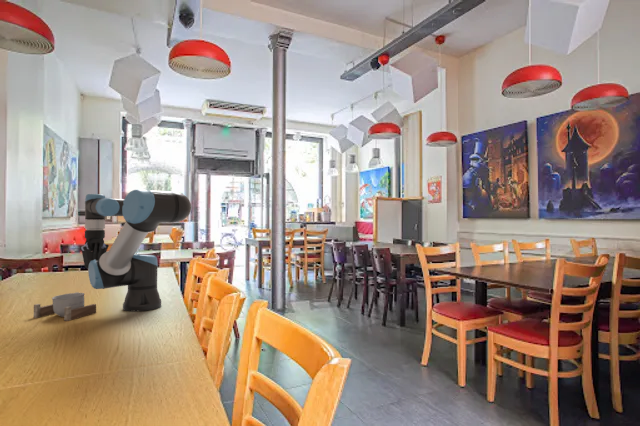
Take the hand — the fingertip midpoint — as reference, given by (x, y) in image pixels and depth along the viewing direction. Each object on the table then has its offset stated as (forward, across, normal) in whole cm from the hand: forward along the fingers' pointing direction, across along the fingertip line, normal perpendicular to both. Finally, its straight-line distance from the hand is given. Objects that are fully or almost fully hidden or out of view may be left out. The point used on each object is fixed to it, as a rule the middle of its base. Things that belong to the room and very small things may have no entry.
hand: (94, 283), depth 163 cm
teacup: (+11, +11, 0) cm, 15 cm away
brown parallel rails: (+10, +13, 0) cm, 17 cm away
